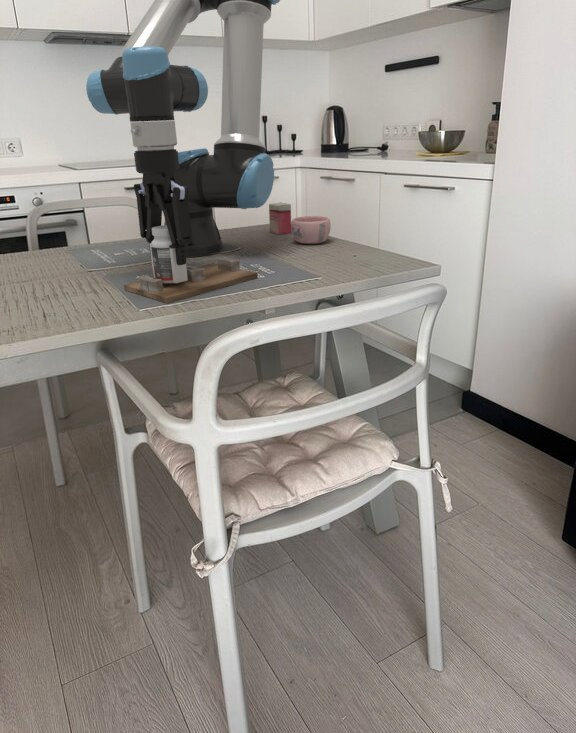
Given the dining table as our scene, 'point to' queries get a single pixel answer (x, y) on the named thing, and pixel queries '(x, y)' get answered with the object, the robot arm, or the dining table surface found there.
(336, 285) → the dining table surface
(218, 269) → the board
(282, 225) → the small box
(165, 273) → the pill bottle
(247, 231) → the dining table surface
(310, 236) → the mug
